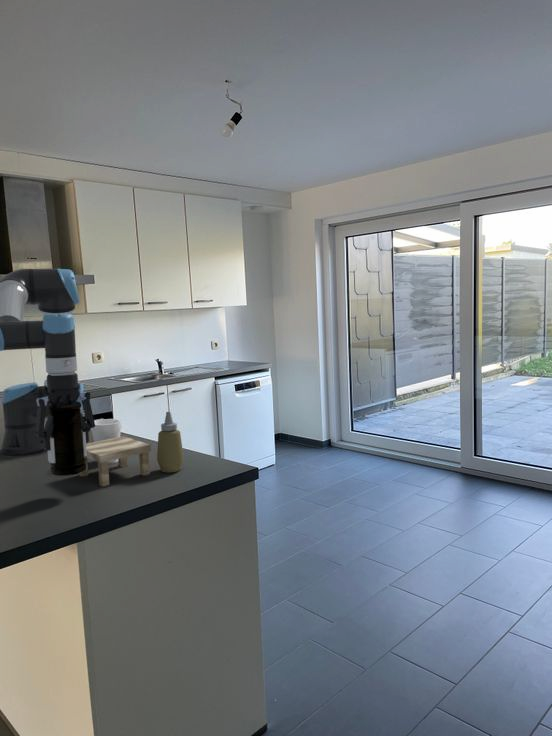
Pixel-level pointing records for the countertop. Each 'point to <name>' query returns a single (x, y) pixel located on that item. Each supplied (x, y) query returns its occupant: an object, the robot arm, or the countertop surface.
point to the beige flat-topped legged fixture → (116, 455)
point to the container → (67, 439)
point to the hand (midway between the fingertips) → (67, 458)
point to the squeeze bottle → (169, 446)
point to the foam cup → (106, 431)
